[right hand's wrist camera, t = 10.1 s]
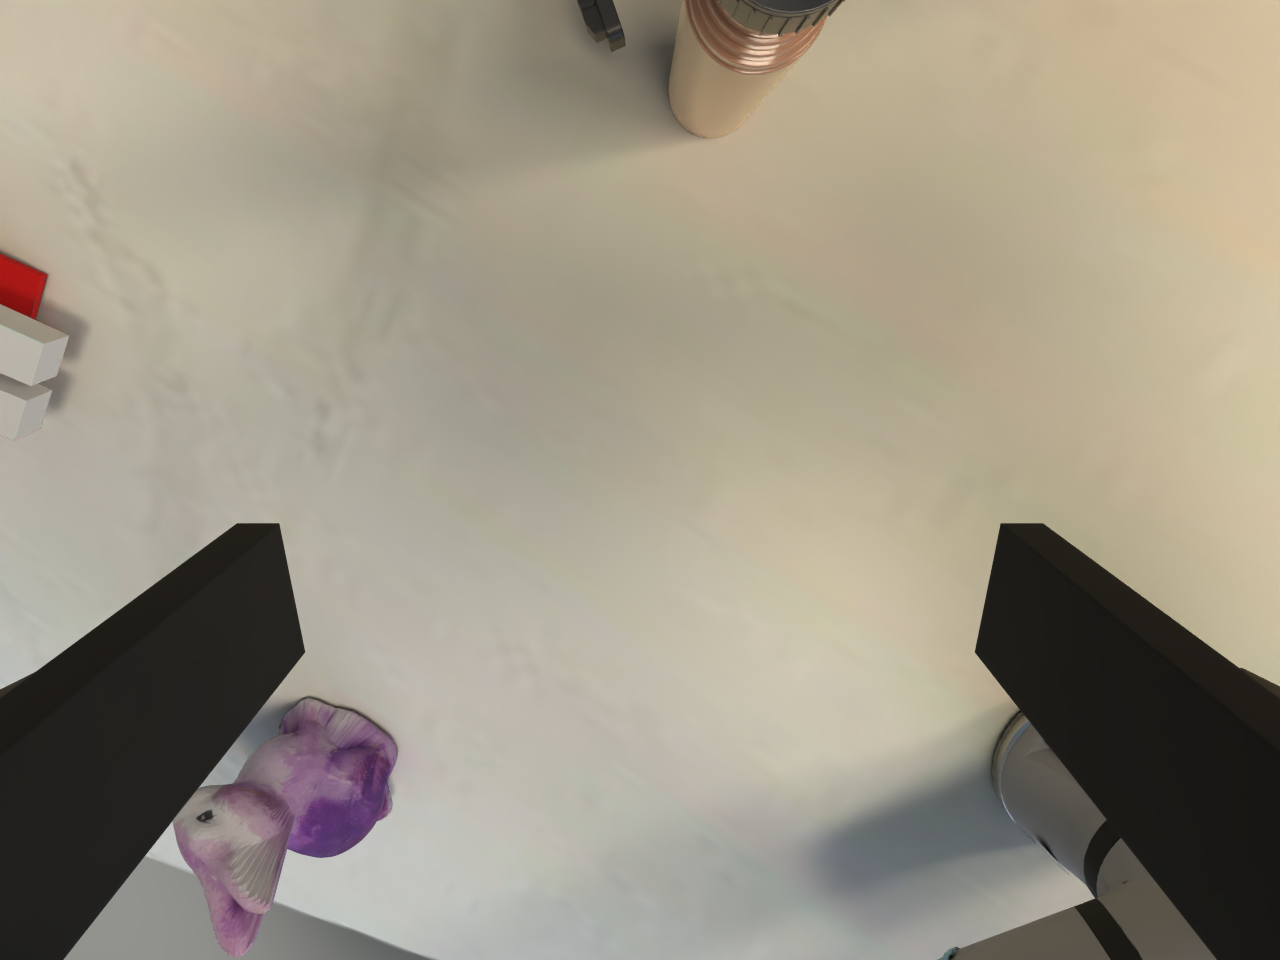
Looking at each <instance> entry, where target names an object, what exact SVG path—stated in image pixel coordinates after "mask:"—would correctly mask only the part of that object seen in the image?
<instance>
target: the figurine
mask: <svg viewBox="0 0 1280 960" xmlns="http://www.w3.org/2000/svg"><path fill="white" fill-rule="evenodd" d="M396 760H397V749H396V747H395V744H394V742H393V740H392V738H391V737H390V736H389V735H387V734H385V733H384V732H383V731H382V730H380V729H379V728H378V727H377V726H375V725H374V724H373V723H371V722H370V721H369V720H367V719H366V718H364V717H362V716H360V715H359V714H357V713H355V711H349V710H345V709H341V708H334V707H332V706H329V705H327V704H325V703H322V702H321V701H318V700H314V699H311V698H307V699H305V700H302V701H300V702H299V703H298V705H295V707H293V709H291V710H290V711H288V712H287V713H286V715H284V718H283V719H282V723H281V724H280V727H279V736H276V737H274V738H272V739H269V740H268V741H266V742H264V743H263V744H262V745H260V746H259V747H258V748H257V749H256V750H255V751H254V752H253V753H252V754H251V755H250V757H249V758H248V759H247V761H246V763H245V764H244V766H243V768H242V770H241V771H240V773H239V775H238V777H237V779H236V780H235V782H234V783H233V784H228V785H211V786H206V787H201V788H199V789H197V790H196V792H195V793H194V794H193V795H192V797H191V798H190V799H189V800H188V802H187V803H186V804H185V806H184V807H183V808H182V809H181V811H180V812H179V813H178V814H177V816H176V817H175V818H174V820H173V826H174V830H175V835H176V839H177V843H178V847H179V849H180V852H181V854H182V856H183V858H184V860H185V861H186V863H187V864H188V865H189V866H190V868H191V869H192V870H193V872H194V874H195V875H196V876H197V877H198V879H199V880H200V883H201V885H202V887H203V889H204V893H205V897H206V900H207V903H208V907H209V912H210V917H211V922H212V924H213V928H214V931H215V935H216V938H217V940H218V944H219V945H220V947H221V948H222V949H223V950H224V951H225V952H227V954H228V955H229V956H234V957H239V956H242V955H243V954H245V953H246V952H247V951H248V950H249V949H250V948H251V946H252V944H253V943H254V941H255V939H256V936H257V933H258V930H259V926H260V923H261V920H262V917H263V913H265V912H267V911H268V910H269V909H271V908H272V904H273V900H274V896H275V893H276V889H277V885H278V881H279V877H280V874H281V870H282V866H283V862H284V859H285V855H286V851H287V849H289V850H292V851H294V852H297V853H300V854H303V855H308V856H312V857H319V858H324V857H332V856H336V855H339V854H341V853H343V852H345V851H347V850H349V849H350V848H352V847H354V846H355V845H356V844H357V843H359V842H360V841H361V840H362V839H363V838H364V837H365V836H366V835H367V834H368V833H369V832H370V830H371V829H372V828H373V826H374V825H375V823H376V821H379V820H383V819H384V818H386V817H387V816H388V815H389V814H390V812H391V810H392V806H393V802H392V797H391V794H390V791H389V787H388V782H387V779H388V778H389V776H390V774H391V772H392V770H393V768H394V766H395V763H396Z"/></svg>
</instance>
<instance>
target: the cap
mask: <svg viewBox="0 0 1280 960" xmlns="http://www.w3.org/2000/svg"><path fill="white" fill-rule="evenodd" d="M844 1H845V0H717V4H718V5H719V4H721V6H722V7H723V8H724V9H725V10H726V11H727V12H728V14H730V16H729V17H730V18H731V19H732V17H733V18H734V19H736V20H737V21H738V22H740V23H741V24H743V25H745V26H744V28H746V29H747V27H749V28H751V29H753V30H756V31H759V32H761V34H762V35H763V34H764V33H769V34H778V36H781V35H782V34H787V33H792V32H796V34H798V33H799V32H800V31H801V30H803V29H805V28H808V27H810V26H812V25H813V27H815V26H816V25H817V24H818V23H819V21H820V20H822V19H823V18H824V17H826V16H827V15H829V16H831V15H832V14H833V12H834V11H835V10H836V9H837V8H838V7H839V5H840V4H841V3H842V2H844Z"/></svg>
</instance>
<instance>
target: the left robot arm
mask: <svg viewBox="0 0 1280 960" xmlns="http://www.w3.org/2000/svg"><path fill="white" fill-rule="evenodd" d="M577 1H578V4H579V7H580V10H581V13H582V15H583V18H584V21H585V24H586V26H587V29H588V32H589V34H590V35H591V36H592V37H593V39H594V40H595V41H596V42H597V43H598V42H600V41H602V40H604V39H606V38H607V41H608V43H609V46H610V49H611V51H612V52H613V51H615V50H617V49H619V48H622V47H624V46H626V45H625V37H624V33H623V30H622V27H621V24H620V21H619V18H618V15H617V12H616V9H615V6H614V3H613V0H577Z"/></svg>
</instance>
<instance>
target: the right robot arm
mask: <svg viewBox="0 0 1280 960" xmlns="http://www.w3.org/2000/svg"><path fill="white" fill-rule="evenodd" d="M304 653H305V649H304V644H303V639H302V634H301V629H300V624H299V619H298V614H297V609H296V604H295V599H294V594H293V589H292V584H291V580H290V575H289V570H288V565H287V560H286V555H285V550H284V545H283V540H282V535H281V530H280V525H279V523H237V524H236V525H234V526H233V527H232V528H230V529H229V530H228V531H226V532H225V533H223V534H222V535H221V536H219V537H218V538H217V539H215V540H214V541H213V542H211V543H210V544H209V545H207V546H206V547H204V548H203V549H202V550H200V551H199V552H198V553H196V554H195V555H194V556H192V557H191V558H190V559H188V560H187V561H185V562H184V563H183V564H181V565H180V566H179V567H177V568H176V569H175V570H173V571H172V572H171V573H169V574H168V575H166V576H165V577H164V578H162V579H161V580H160V581H158V582H157V583H156V584H154V585H153V586H152V587H150V588H149V589H147V590H146V591H145V592H143V593H142V594H141V595H139V596H138V597H137V598H135V599H134V600H133V601H131V602H130V603H129V604H127V605H126V606H124V607H123V608H122V609H120V610H119V611H118V612H116V613H115V614H114V615H112V616H111V617H110V618H108V619H107V620H105V621H104V622H103V623H101V624H100V625H99V626H97V627H96V628H95V629H93V630H92V631H91V632H89V633H88V634H86V635H85V636H84V637H82V638H81V639H80V640H78V641H77V642H76V643H74V644H73V645H72V646H70V647H69V648H67V649H66V650H65V651H63V652H62V653H61V654H59V655H58V656H57V657H55V658H54V659H53V660H51V661H50V662H48V663H47V664H46V665H44V666H43V667H42V668H40V669H39V670H38V671H36V672H35V673H33V674H31V675H29V676H27V677H25V678H23V679H21V680H19V681H17V682H15V683H12V684H10V685H8V686H6V687H4V688H2V689H0V960H63V959H64V958H65V957H66V956H67V954H68V953H69V952H70V951H71V949H72V948H73V947H74V945H75V944H76V943H77V942H78V940H79V939H80V938H81V936H82V935H83V934H84V933H85V931H86V930H87V929H88V928H89V926H90V925H91V924H92V923H93V921H94V920H95V919H96V917H97V916H98V915H99V914H100V912H101V911H102V910H103V909H104V907H105V906H106V905H107V903H108V902H109V901H110V900H111V898H112V897H113V896H114V895H115V893H116V892H117V891H118V889H119V888H120V887H121V886H122V884H123V883H124V882H125V881H126V879H127V878H128V877H129V875H130V874H131V873H132V872H133V870H134V869H135V868H136V867H137V865H138V864H139V863H140V862H141V860H142V859H143V858H144V856H145V855H146V854H147V853H148V851H149V850H150V849H151V848H152V846H153V845H154V844H155V842H156V841H157V840H158V839H159V837H160V836H161V835H162V834H163V832H164V831H165V830H166V828H167V827H168V826H169V825H170V823H171V822H172V821H173V820H174V818H175V817H176V816H177V814H178V813H179V812H180V811H181V809H182V808H183V807H184V806H185V804H186V803H187V802H188V800H189V799H190V798H191V797H192V795H193V794H194V793H195V792H196V790H197V789H198V788H199V786H200V785H201V784H202V783H203V781H204V780H205V779H206V778H207V776H208V775H209V774H210V773H211V771H212V770H213V769H214V767H215V766H216V765H217V764H218V762H219V761H220V760H221V759H222V757H223V756H224V755H225V753H226V752H227V751H228V750H229V748H230V747H231V746H232V745H233V743H234V742H235V741H236V739H237V738H238V737H239V736H240V734H241V733H242V732H243V731H244V729H245V728H246V727H247V725H248V724H249V723H250V722H251V720H252V719H253V718H254V717H255V715H256V714H257V713H258V711H259V710H260V709H261V708H262V706H263V705H264V704H265V703H266V701H267V700H268V699H269V697H270V696H271V695H272V694H273V692H274V691H275V690H276V689H277V687H278V686H279V685H280V683H281V682H282V681H283V680H284V678H285V677H286V676H287V675H288V673H289V672H290V671H291V670H292V668H293V667H294V666H295V664H296V663H297V662H298V661H299V659H300V658H301V657H302V656H303V654H304ZM975 653H976V654H977V656H978V657H979V658H980V659H981V661H982V662H983V663H984V664H985V666H986V667H987V668H988V670H989V671H990V672H991V673H992V675H993V676H994V677H995V678H996V680H997V681H998V682H999V683H1000V685H1001V686H1002V687H1003V689H1004V690H1005V691H1006V692H1007V694H1008V695H1009V696H1010V697H1011V699H1012V700H1013V701H1014V703H1015V704H1016V705H1017V706H1018V708H1019V709H1020V710H1021V712H1020V713H1019V714H1018V715H1017V717H1016V718H1015V719H1014V720H1013V721H1012V722H1011V723H1010V725H1009V726H1008V728H1007V729H1006V730H1005V732H1004V734H1003V735H1002V737H1001V739H1000V741H999V743H998V745H997V748H996V751H995V754H994V759H993V765H992V778H993V784H994V788H995V791H996V793H997V796H998V798H999V799H1000V801H1001V803H1002V804H1003V806H1004V807H1005V809H1006V811H1007V812H1008V814H1009V815H1010V817H1011V818H1012V820H1013V821H1014V822H1015V823H1016V824H1017V825H1018V826H1019V828H1020V829H1021V830H1022V831H1023V832H1024V833H1025V834H1026V835H1027V836H1028V837H1029V838H1030V839H1032V840H1033V841H1035V842H1036V843H1038V844H1039V845H1040V847H1041V848H1042V849H1043V850H1044V851H1045V852H1046V853H1047V854H1048V855H1049V856H1050V857H1051V858H1052V859H1053V861H1054V862H1055V863H1056V864H1057V865H1058V866H1059V867H1060V868H1061V869H1063V870H1064V871H1065V872H1066V870H1065V869H1064V868H1063V867H1062V866H1061V865H1060V864H1059V863H1058V862H1060V863H1061V864H1062V865H1063V866H1064V867H1066V868H1067V869H1068V870H1069V871H1070V872H1072V873H1073V874H1074V875H1075V876H1076V877H1078V878H1079V879H1080V880H1081V881H1082V882H1084V883H1085V884H1086V886H1087V887H1088V888H1089V890H1090V891H1091V893H1092V894H1093V896H1094V897H1095V899H1093V900H1090V901H1088V902H1085V903H1083V904H1080V905H1077V906H1074V907H1071V908H1069V909H1066V910H1063V911H1061V912H1058V913H1055V914H1053V915H1050V916H1047V917H1045V918H1042V919H1039V920H1036V921H1034V922H1031V923H1028V924H1026V925H1023V926H1020V927H1018V928H1015V929H1012V930H1009V931H1007V932H1004V933H1001V934H999V935H996V936H993V937H991V938H988V939H985V940H983V941H980V942H977V943H974V944H972V945H969V946H966V947H964V948H961V949H960V948H958V947H954V948H952V949H949V950H948V951H947V952H946V953H945V954H944V956H943V957H942V958H939V959H937V960H1280V686H1278V685H1276V684H1274V683H1272V682H1270V681H1268V680H1266V679H1264V678H1261V677H1259V676H1257V675H1255V674H1253V673H1251V672H1249V671H1247V670H1245V669H1243V668H1238V667H1237V666H1236V665H1234V664H1233V663H1232V662H1230V661H1229V660H1227V659H1226V658H1225V657H1223V656H1222V655H1221V654H1219V653H1218V652H1217V651H1215V650H1214V649H1213V648H1211V647H1210V646H1208V645H1207V644H1206V643H1204V642H1203V641H1202V640H1200V639H1199V638H1198V637H1196V636H1195V635H1194V634H1192V633H1191V632H1189V631H1188V630H1187V629H1185V628H1184V627H1183V626H1181V625H1180V624H1179V623H1177V622H1176V621H1175V620H1173V619H1172V618H1170V617H1169V616H1168V615H1166V614H1165V613H1164V612H1162V611H1161V610H1160V609H1158V608H1157V607H1156V606H1154V605H1153V604H1151V603H1150V602H1149V601H1147V600H1146V599H1145V598H1143V597H1142V596H1141V595H1139V594H1138V593H1137V592H1135V591H1134V590H1133V589H1131V588H1130V587H1128V586H1127V585H1126V584H1124V583H1123V582H1122V581H1120V580H1119V579H1118V578H1116V577H1115V576H1114V575H1112V574H1111V573H1109V572H1108V571H1107V570H1105V569H1104V568H1103V567H1101V566H1100V565H1099V564H1097V563H1096V562H1095V561H1093V560H1092V559H1090V558H1089V557H1088V556H1086V555H1085V554H1084V553H1082V552H1081V551H1080V550H1078V549H1077V548H1076V547H1074V546H1073V545H1071V544H1070V543H1069V542H1067V541H1066V540H1065V539H1063V538H1062V537H1061V536H1059V535H1058V534H1057V533H1055V532H1054V531H1052V530H1051V529H1050V528H1048V527H1047V526H1046V525H1044V524H1043V523H1001V525H1000V530H999V535H998V540H997V545H996V550H995V555H994V560H993V565H992V570H991V575H990V580H989V584H988V589H987V594H986V599H985V604H984V609H983V614H982V619H981V624H980V629H979V634H978V639H977V644H976V649H975ZM1053 857H1054V858H1055V859H1056V860H1057V861H1058V862H1057V861H1056V860H1055V859H1054V858H1053ZM1066 873H1067V872H1066ZM1067 874H1068V873H1067Z"/></svg>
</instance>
